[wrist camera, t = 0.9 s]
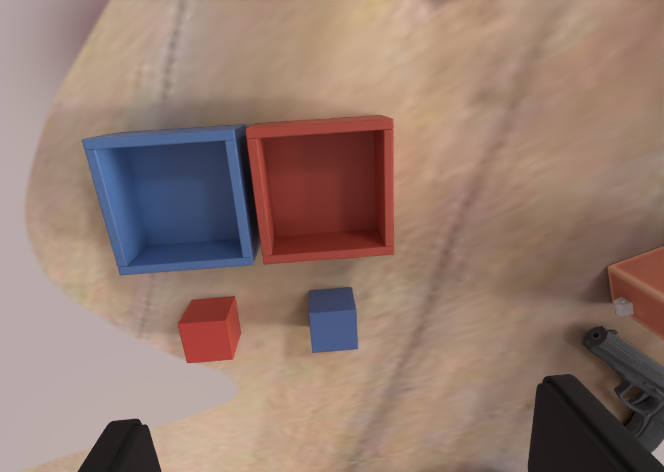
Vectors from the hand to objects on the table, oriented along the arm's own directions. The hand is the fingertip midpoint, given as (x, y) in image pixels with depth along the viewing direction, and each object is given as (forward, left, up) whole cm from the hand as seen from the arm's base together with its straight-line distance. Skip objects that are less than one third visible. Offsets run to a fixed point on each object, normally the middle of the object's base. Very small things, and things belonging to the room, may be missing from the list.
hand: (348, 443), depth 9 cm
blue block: (+14, 0, -30) cm, 33 cm away
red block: (+14, -12, -30) cm, 35 cm away
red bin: (0, 0, -30) cm, 30 cm away
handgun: (+29, +35, -30) cm, 55 cm away
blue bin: (0, -12, -30) cm, 32 cm away
